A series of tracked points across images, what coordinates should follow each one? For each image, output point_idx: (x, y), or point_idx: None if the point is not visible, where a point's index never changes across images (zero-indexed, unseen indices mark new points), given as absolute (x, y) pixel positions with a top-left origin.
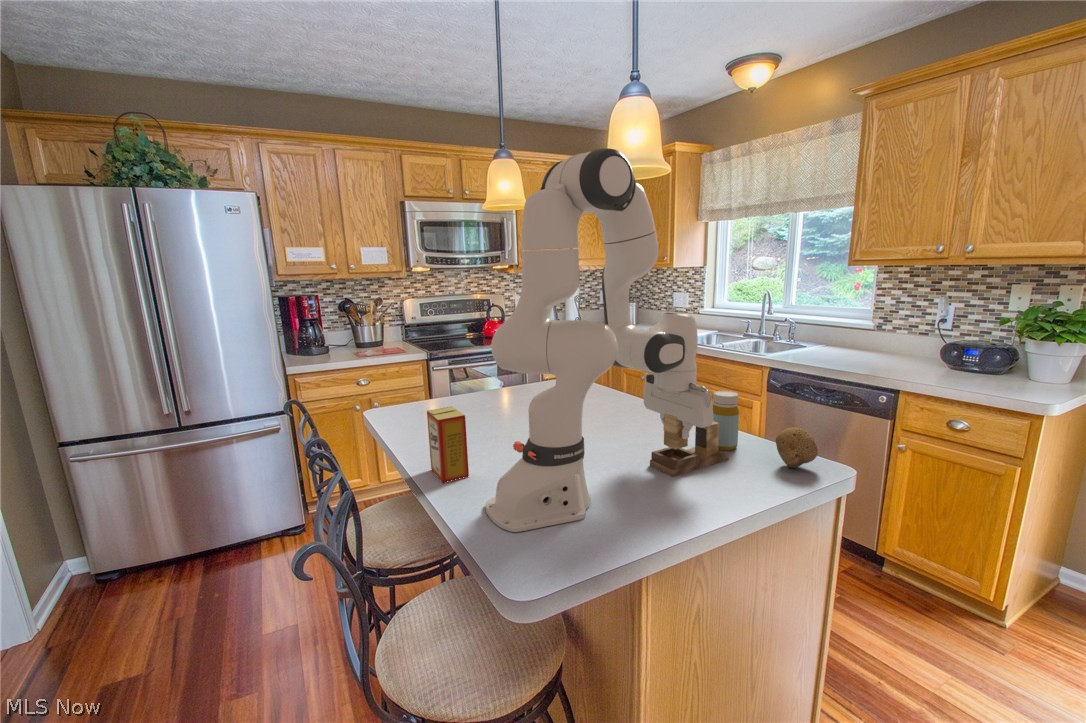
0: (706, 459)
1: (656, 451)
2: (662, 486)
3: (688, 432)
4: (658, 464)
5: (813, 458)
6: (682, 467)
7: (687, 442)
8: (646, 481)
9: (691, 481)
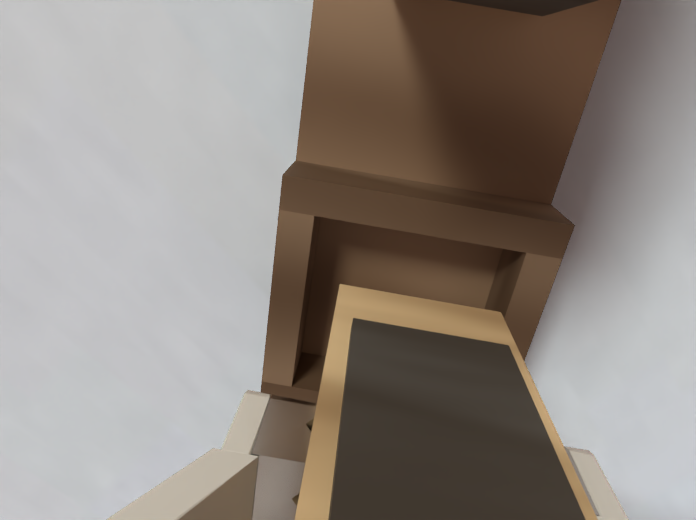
0: (569, 90)
1: (277, 379)
2: None
3: (616, 513)
4: None
5: None
6: None
7: (509, 334)
8: None
9: (587, 373)
